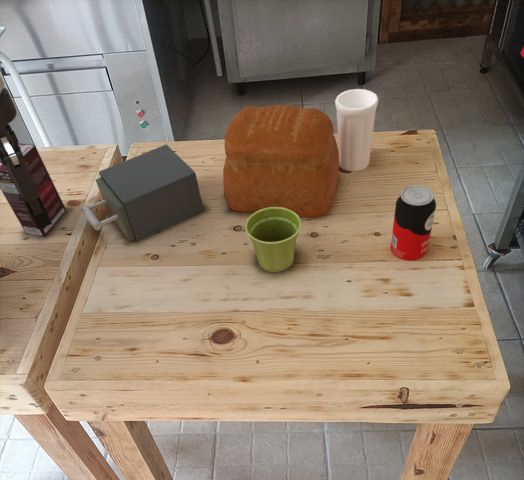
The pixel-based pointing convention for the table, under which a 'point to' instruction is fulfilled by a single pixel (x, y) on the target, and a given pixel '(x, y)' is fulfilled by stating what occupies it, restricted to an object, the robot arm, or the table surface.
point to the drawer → (109, 211)
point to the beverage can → (413, 222)
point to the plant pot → (274, 236)
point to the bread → (281, 160)
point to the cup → (355, 127)
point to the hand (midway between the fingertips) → (43, 224)
